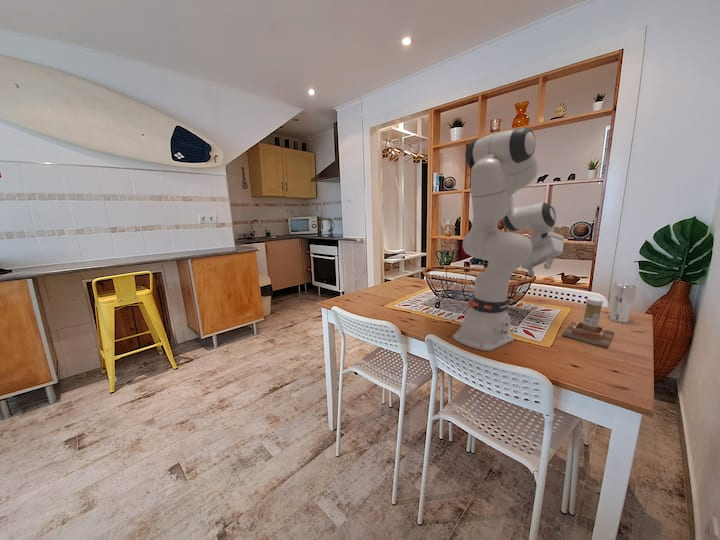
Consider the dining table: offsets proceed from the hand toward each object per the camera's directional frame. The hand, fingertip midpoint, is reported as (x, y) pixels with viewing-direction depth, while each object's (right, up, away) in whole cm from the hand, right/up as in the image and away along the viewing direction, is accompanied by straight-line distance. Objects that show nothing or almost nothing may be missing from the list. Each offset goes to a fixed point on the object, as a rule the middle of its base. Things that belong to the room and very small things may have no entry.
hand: (538, 271), depth 116 cm
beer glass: (+35, -20, +2) cm, 40 cm away
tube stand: (+11, -23, -11) cm, 28 cm away
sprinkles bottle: (+12, -23, -11) cm, 28 cm away
